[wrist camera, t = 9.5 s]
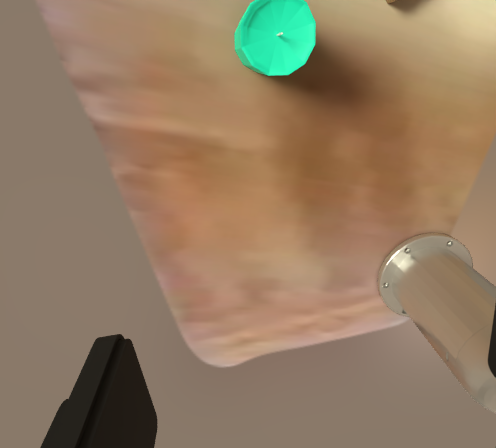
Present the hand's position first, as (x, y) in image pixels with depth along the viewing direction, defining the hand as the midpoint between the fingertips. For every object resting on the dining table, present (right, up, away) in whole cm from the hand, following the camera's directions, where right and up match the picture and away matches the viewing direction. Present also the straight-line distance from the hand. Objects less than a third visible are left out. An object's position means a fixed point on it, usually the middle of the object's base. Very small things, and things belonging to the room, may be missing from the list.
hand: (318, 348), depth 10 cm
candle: (0, +22, +29) cm, 36 cm away
